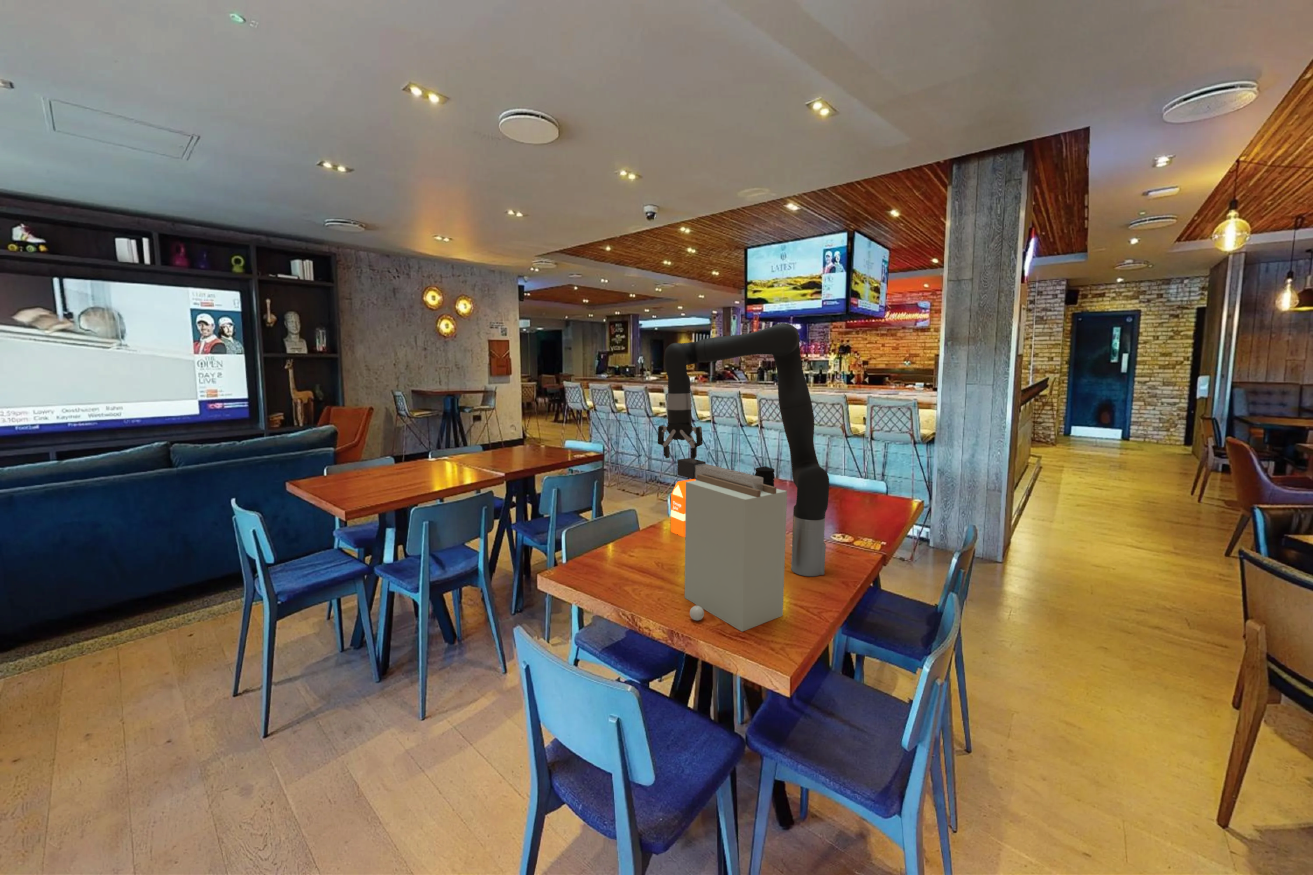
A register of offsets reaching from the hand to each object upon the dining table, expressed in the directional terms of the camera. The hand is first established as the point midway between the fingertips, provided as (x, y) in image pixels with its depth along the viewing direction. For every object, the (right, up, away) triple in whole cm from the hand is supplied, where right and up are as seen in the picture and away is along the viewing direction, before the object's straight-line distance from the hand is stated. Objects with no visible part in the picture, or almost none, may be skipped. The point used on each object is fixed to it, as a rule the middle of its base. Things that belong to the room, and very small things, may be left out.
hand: (680, 458), depth 167 cm
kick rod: (+8, -5, -29) cm, 31 cm away
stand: (+12, -37, -30) cm, 49 cm away
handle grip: (+31, -30, +24) cm, 49 cm away
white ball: (+2, -38, -37) cm, 53 cm away
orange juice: (+4, -29, +31) cm, 42 cm away
